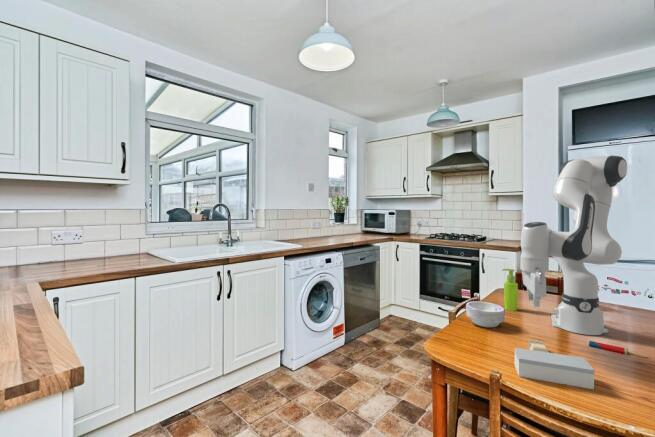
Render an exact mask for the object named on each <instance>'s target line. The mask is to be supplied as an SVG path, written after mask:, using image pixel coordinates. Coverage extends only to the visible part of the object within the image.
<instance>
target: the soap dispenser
mask: <svg viewBox="0 0 655 437" xmlns="http://www.w3.org/2000/svg"><path fill="white" fill-rule="evenodd" d="M501 271H509V272H508V275H507V276H506V281H504V282H503V308H504V309H505V311H506V310H507V311H510V310H511V312H512V311H513V312H515V311H518V299H519V298H518V296H519V295H518V291H519V283H518V282H516V277H515V275H514V272H515V269H512V268H502V269H501Z"/></svg>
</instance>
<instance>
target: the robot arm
mask: <svg viewBox="0 0 655 437" xmlns="http://www.w3.org/2000/svg"><path fill="white" fill-rule="evenodd" d="M627 173H628V164H627V160H626V159H625V158H624V157H622V156H619V155H608V156H605V155H604V156H590V157H584V158H577V159H571V160H567V161H565V162H563V163H562V164H561V165H560V167H559V171H558V174H559V175H558V177H557V180H556V182H555V184H554V187H553V190H552V195H553V196H552V197H553V198H554V200H555V201H556V202H557V204H560V205H562V206H563V207H566V208H567V209H570V210H574V213H573V215H572V221H573V223H574V229H572V230H569V231H557V230H553V229H550V228H549V227H548V223H547V222H543V221H534V222H533V221H532V222H531V221H530V222H527V223H525V224H524V225H523V226H522V229H521V233H520V248H521V254H520V260H519V261H520V263H519V267H520V268H519V269H520V270H521V274H522V276H521V277H522V283H523V285H524V286H525V287H526V291H527V299H528V300H529V301H532V304H533V306H534V307H535V308H539V307H540V306H541V300H542V298H546V296H547V279H546V278H547V277H546V275H545V274H546V273H549V269H550V267H549V265H550V263H549V261H550V258H549V257H551V258H553V259H554V260H555V261H556V262H557V264H558V266H559V267H560V269H561V273H562V277H563V278H562V279H563V292H562V294H561V302H560V303H559V304H558V305H557V307H553V312H552V313H553V314H551V316H550V317H551V318H550V319H551V325H552V327H555V328H558V329H562V330H564V331H568V332H570V333H576V334H580V335H585V336H600V335H602V334H608V333H609V330H608V328H605V323H604V322H605V321H604V312H603V311H602V309H600V298H599V291H598V290H599V281H598V278H597V276H596V275H595V274H593V273H592V272H590V271H589V270H588V269H587V268H586V266H585V264H591V265H597V266H598V265H614V264H616V263H617V262H618V261H619V260H620V258H621V257H622V253H623V252H622V247H621V245H620V244H619V243H618V241H617V240H615V239H614V238H613V237H612V236H611V234H610V232H609V230H608V218H609V213H610V209H611V206H612V201H613V200H612V199H613V187H615V186H617V185H618V183H620V182H621V181H622V180H623V179H624V178H625V177H626V176H627Z"/></svg>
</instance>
